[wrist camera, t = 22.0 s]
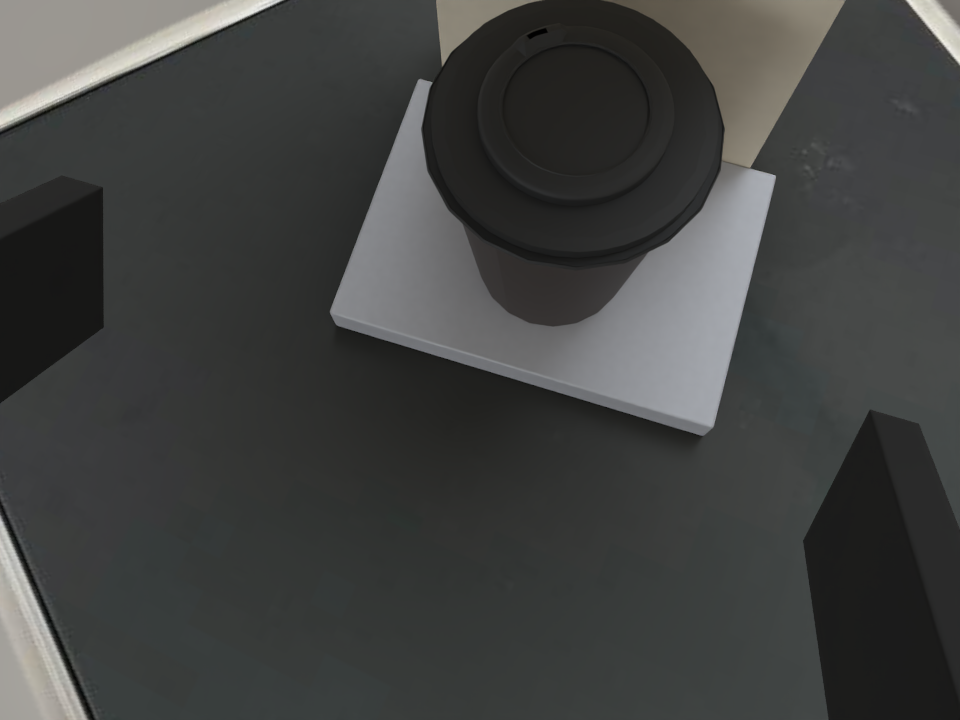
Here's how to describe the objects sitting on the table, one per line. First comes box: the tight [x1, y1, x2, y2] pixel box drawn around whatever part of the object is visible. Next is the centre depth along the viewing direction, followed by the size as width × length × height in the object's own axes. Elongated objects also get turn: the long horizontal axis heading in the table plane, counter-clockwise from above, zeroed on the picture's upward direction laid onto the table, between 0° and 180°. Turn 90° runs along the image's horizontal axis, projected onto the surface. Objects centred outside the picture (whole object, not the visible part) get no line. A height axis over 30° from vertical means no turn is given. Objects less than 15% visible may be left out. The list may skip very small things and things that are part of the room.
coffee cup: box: [421, 0, 725, 327], centre depth 28 cm, size 8×8×10 cm
